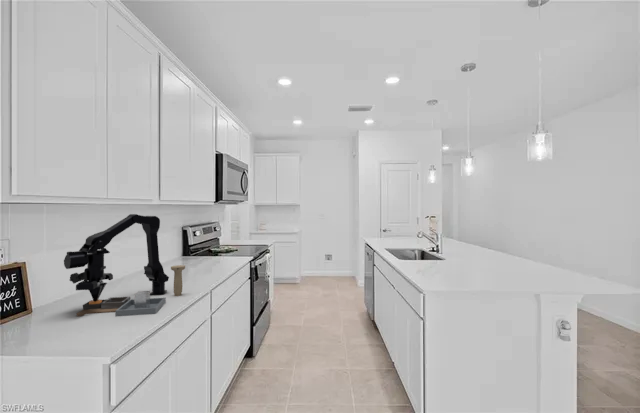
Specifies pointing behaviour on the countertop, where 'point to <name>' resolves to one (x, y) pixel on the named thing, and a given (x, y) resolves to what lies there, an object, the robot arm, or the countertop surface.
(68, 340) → the countertop surface
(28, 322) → the countertop surface
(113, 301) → the brown wood panel
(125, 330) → the countertop surface
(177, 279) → the handle
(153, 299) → the tote
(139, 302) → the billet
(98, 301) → the button
